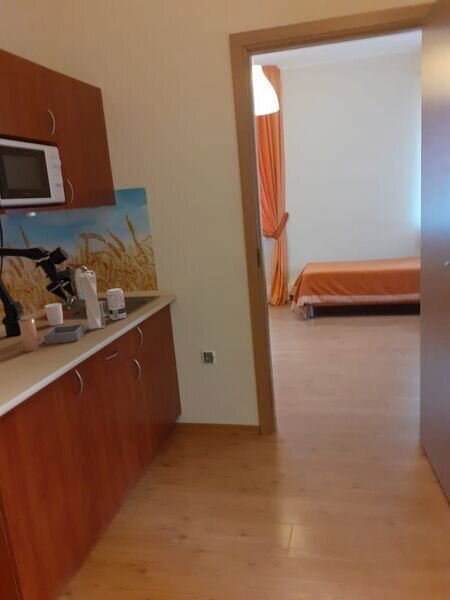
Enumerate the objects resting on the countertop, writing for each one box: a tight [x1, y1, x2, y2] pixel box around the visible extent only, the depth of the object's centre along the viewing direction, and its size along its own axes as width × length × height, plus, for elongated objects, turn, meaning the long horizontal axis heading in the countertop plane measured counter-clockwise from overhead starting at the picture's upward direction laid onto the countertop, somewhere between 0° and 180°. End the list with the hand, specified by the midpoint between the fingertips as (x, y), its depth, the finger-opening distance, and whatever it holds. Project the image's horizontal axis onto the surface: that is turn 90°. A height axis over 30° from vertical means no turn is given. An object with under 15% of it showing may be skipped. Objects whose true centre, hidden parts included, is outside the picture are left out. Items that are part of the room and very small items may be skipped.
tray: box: [44, 323, 86, 345], centre depth 214 cm, size 14×14×4 cm
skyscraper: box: [79, 270, 107, 331], centre depth 225 cm, size 8×8×28 cm
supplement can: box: [106, 287, 127, 321], centre depth 241 cm, size 8×8×15 cm
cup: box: [19, 317, 40, 353], centre depth 200 cm, size 6×6×13 cm
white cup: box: [44, 302, 64, 327], centre depth 243 cm, size 8×8×10 cm
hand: (70, 298), depth 225 cm, fingers open, 9 cm apart
